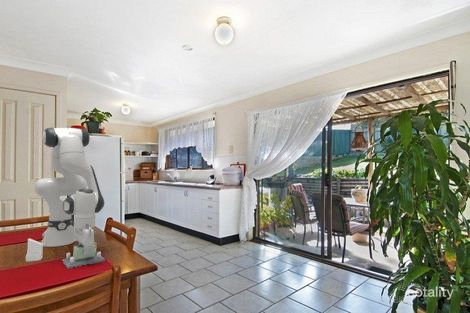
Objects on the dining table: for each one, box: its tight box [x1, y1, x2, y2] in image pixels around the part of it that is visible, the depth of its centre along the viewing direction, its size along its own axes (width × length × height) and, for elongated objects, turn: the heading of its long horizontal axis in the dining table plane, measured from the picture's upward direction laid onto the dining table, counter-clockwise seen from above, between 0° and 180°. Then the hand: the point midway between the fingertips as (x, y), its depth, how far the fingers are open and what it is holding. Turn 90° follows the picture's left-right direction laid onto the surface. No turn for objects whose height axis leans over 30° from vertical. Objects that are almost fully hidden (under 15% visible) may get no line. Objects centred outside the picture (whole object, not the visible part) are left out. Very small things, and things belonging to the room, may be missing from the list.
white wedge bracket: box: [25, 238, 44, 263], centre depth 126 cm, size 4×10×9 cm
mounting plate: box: [61, 248, 106, 270], centre depth 124 cm, size 13×15×4 cm
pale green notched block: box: [72, 244, 95, 260], centre depth 124 cm, size 5×8×6 cm, turn 133°
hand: (83, 252), depth 124 cm, fingers closed on pale green notched block, 5 cm apart
